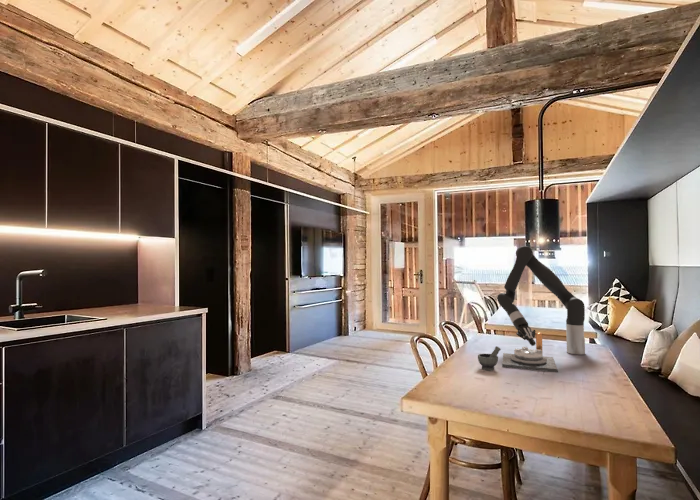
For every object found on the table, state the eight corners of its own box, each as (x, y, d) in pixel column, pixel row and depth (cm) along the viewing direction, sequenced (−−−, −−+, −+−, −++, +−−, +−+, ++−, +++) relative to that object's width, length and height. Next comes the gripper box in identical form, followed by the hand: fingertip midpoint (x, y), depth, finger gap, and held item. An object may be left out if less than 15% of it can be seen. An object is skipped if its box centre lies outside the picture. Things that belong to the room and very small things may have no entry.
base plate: (553, 359, 219) (552, 354, 219) (557, 372, 195) (557, 366, 195) (503, 355, 229) (503, 350, 229) (502, 366, 205) (502, 361, 205)
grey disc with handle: (534, 362, 202) (534, 339, 203) (509, 357, 213) (509, 335, 214) (553, 356, 215) (553, 334, 215) (528, 351, 226) (528, 331, 226)
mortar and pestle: (478, 370, 198) (478, 347, 198) (477, 366, 207) (477, 343, 207) (501, 372, 195) (501, 348, 195) (500, 367, 204) (499, 344, 204)
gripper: (512, 317, 231) (527, 342, 219) (530, 316, 235) (546, 340, 223) (506, 324, 236) (521, 349, 224) (524, 323, 240) (539, 347, 228)
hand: (533, 345), depth 223 cm, fingers closed
